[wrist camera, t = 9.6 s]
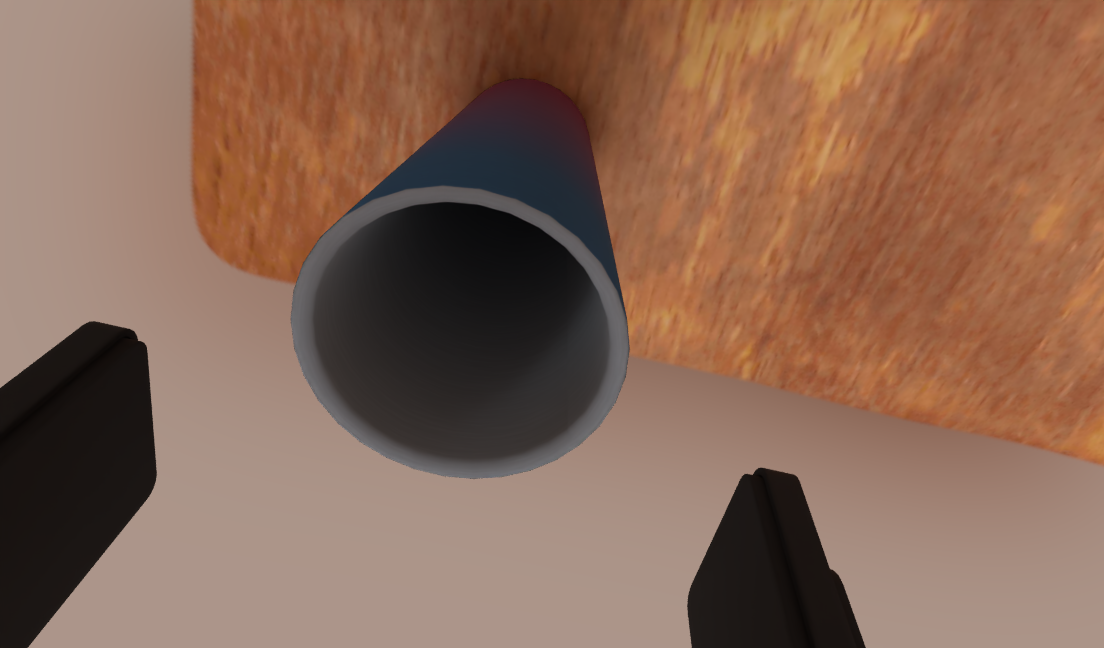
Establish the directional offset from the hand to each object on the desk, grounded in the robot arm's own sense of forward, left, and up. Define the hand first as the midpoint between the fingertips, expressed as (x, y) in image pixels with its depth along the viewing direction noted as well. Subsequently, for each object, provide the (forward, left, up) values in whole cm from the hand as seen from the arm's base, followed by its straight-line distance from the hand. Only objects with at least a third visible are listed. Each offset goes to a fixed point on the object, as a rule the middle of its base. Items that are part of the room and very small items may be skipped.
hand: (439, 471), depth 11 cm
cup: (0, 0, -19) cm, 19 cm away
